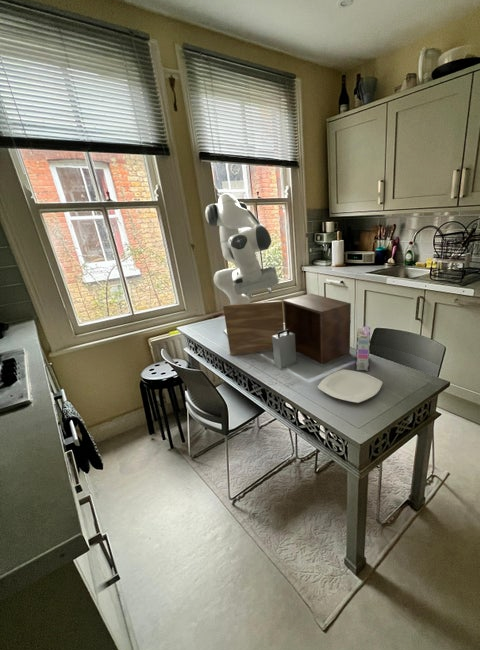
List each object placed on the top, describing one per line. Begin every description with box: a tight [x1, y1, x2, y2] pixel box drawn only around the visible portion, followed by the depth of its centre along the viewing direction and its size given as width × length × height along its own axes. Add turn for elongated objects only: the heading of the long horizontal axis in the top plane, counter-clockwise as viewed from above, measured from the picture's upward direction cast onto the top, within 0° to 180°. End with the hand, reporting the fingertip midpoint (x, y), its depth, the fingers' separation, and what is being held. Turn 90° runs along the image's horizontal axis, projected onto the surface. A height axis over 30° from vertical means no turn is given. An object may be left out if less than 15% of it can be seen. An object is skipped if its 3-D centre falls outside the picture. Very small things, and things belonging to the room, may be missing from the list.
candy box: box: [355, 325, 371, 372], centre depth 143 cm, size 14×6×16 cm, turn 168°
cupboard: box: [282, 293, 352, 365], centre depth 155 cm, size 18×28×26 cm, turn 38°
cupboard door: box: [222, 300, 285, 356], centre depth 161 cm, size 7×28×26 cm, turn 98°
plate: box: [317, 368, 384, 404], centre depth 127 cm, size 23×23×2 cm
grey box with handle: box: [272, 329, 297, 370], centre depth 146 cm, size 6×9×17 cm, turn 128°
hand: (260, 294), depth 147 cm, fingers open, 8 cm apart
